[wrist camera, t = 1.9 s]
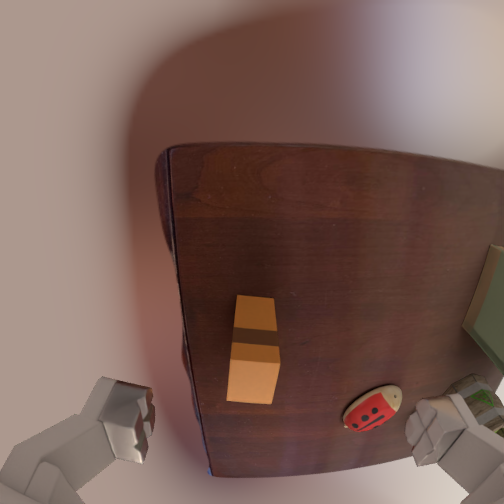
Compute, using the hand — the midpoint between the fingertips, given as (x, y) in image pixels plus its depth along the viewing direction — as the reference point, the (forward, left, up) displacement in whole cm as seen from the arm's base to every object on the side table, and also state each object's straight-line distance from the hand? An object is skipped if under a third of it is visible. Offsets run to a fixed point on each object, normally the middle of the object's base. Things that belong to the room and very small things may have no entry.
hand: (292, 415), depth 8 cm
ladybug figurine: (+26, +19, -25) cm, 41 cm away
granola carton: (+12, 0, -25) cm, 27 cm away
